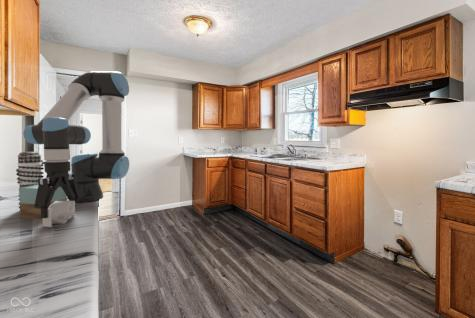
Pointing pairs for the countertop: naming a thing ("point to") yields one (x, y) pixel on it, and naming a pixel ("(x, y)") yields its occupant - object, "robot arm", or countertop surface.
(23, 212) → the tower base
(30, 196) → the tower top
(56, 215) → the die
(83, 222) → the countertop surface
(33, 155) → the decorative candle
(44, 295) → the countertop surface
